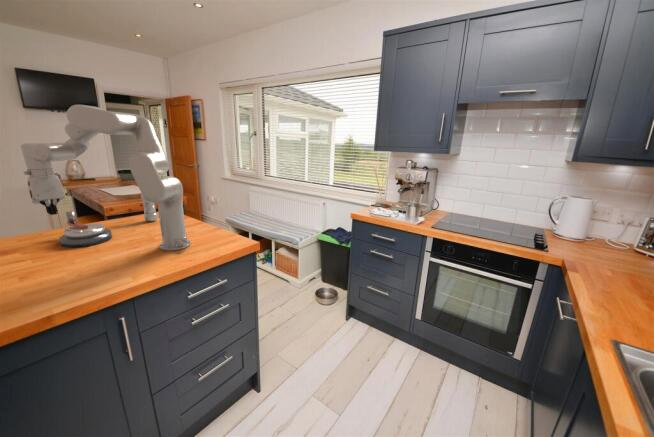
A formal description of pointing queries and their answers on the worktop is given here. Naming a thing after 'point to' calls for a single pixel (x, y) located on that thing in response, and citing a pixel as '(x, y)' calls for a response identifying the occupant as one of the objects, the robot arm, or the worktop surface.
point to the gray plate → (85, 240)
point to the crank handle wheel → (81, 228)
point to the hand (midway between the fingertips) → (53, 214)
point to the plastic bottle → (149, 210)
